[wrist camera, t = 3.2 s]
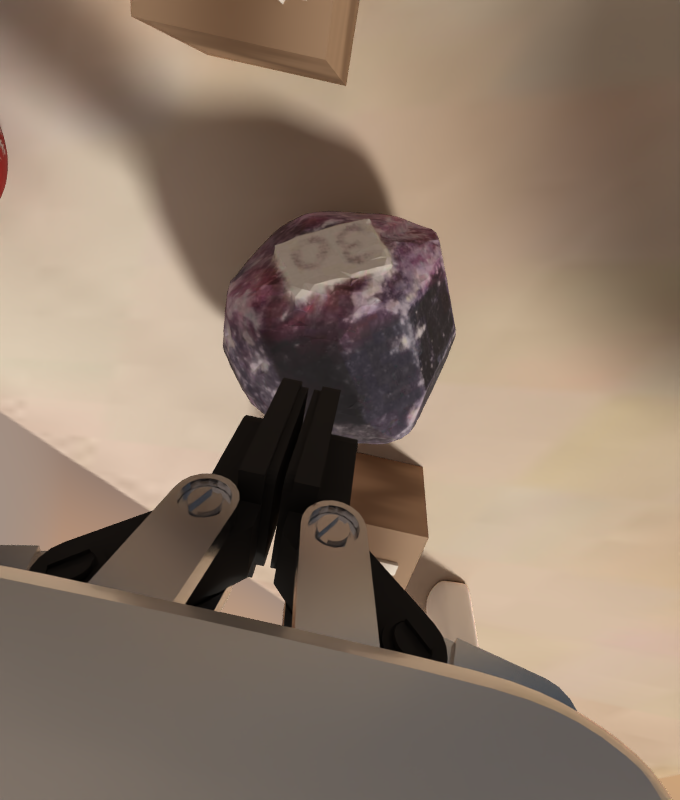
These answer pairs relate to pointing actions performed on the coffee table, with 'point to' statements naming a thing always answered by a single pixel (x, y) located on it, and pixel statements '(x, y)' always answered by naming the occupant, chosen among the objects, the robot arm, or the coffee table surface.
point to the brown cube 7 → (262, 32)
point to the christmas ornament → (3, 163)
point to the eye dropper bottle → (452, 611)
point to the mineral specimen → (344, 319)
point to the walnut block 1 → (391, 512)
